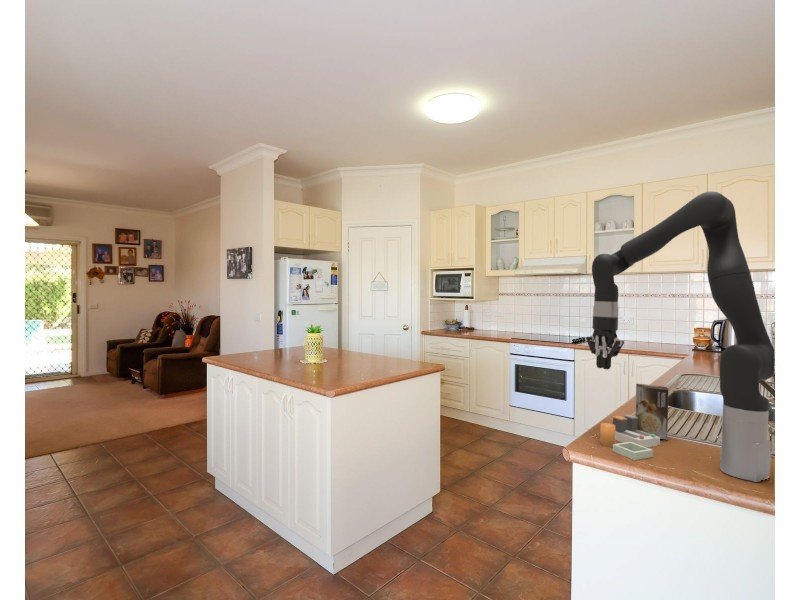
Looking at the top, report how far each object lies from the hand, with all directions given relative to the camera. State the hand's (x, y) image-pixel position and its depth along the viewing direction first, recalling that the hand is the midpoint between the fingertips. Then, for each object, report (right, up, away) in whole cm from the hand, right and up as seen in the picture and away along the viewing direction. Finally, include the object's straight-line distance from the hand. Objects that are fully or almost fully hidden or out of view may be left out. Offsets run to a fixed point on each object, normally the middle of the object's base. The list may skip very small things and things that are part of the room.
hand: (603, 368), depth 145 cm
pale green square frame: (-1, -21, -19) cm, 29 cm away
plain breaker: (+7, -18, -4) cm, 20 cm away
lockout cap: (-4, -21, -12) cm, 24 cm away
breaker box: (+6, -21, -8) cm, 23 cm away
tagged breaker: (+2, -18, -6) cm, 19 cm away
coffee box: (+14, -22, -2) cm, 26 cm away
